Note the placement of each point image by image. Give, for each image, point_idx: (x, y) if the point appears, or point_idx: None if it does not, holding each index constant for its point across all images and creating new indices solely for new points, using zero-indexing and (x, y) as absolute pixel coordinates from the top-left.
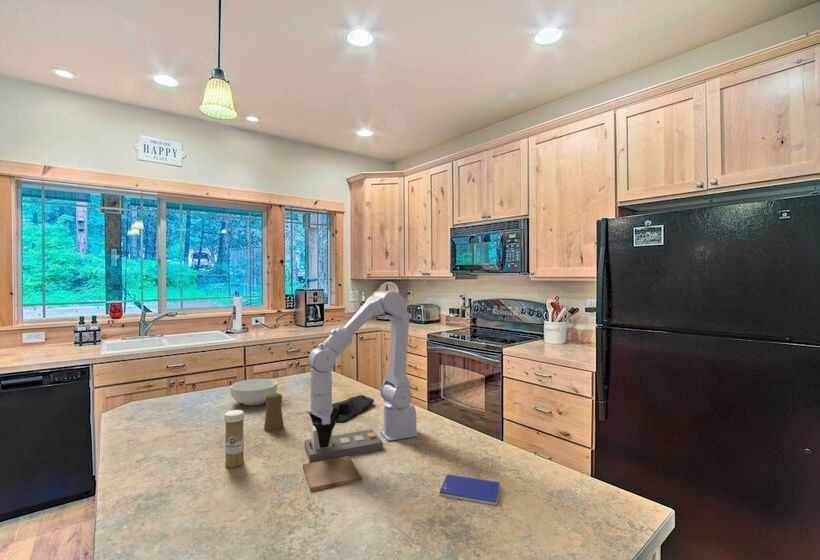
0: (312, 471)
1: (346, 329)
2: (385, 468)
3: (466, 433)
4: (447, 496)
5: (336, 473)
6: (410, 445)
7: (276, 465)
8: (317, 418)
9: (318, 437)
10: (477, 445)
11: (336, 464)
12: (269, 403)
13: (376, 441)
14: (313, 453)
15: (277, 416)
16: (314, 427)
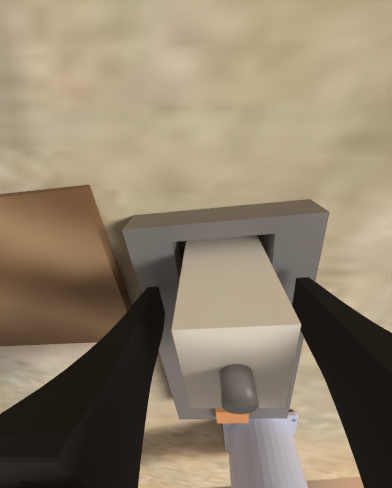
0: (16, 225)
1: None
2: None
3: (207, 482)
4: None
5: (10, 297)
6: (185, 430)
7: (127, 19)
8: (369, 401)
9: (120, 326)
10: (154, 478)
11: (77, 303)
12: None
13: (188, 411)
14: (134, 247)
15: None
16: (247, 339)
